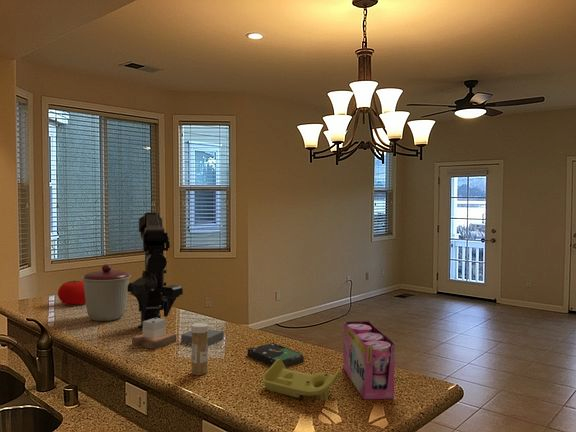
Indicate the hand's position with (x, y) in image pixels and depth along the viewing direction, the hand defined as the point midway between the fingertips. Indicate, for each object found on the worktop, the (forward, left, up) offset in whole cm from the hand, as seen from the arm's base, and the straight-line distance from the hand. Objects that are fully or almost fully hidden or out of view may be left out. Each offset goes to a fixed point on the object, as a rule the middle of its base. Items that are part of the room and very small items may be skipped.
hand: (154, 315), depth 163 cm
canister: (-38, +16, -10) cm, 42 cm away
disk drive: (+42, +6, -10) cm, 43 cm away
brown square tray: (0, 0, -9) cm, 9 cm away
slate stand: (+12, +10, -9) cm, 18 cm away
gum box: (+72, +1, -10) cm, 72 cm away
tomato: (-68, +27, -10) cm, 74 cm away
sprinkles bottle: (+29, -15, -10) cm, 34 cm away
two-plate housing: (0, 0, -7) cm, 7 cm away
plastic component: (+59, -14, -10) cm, 62 cm away
